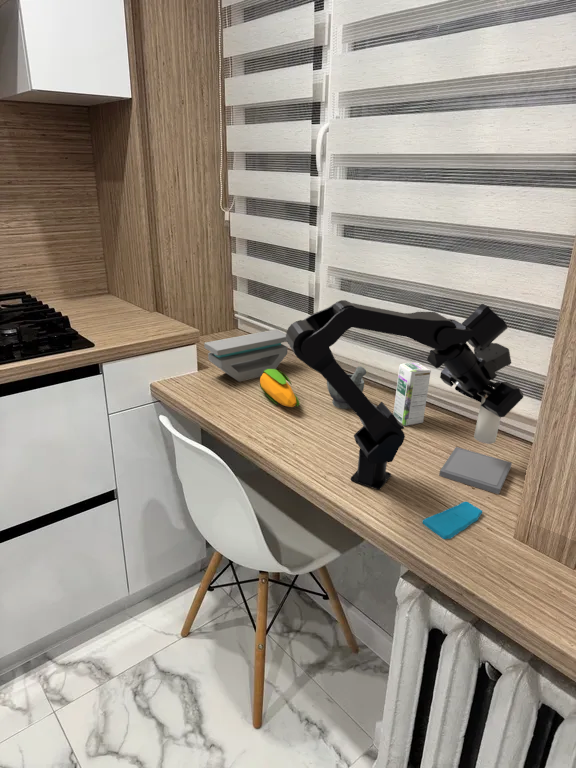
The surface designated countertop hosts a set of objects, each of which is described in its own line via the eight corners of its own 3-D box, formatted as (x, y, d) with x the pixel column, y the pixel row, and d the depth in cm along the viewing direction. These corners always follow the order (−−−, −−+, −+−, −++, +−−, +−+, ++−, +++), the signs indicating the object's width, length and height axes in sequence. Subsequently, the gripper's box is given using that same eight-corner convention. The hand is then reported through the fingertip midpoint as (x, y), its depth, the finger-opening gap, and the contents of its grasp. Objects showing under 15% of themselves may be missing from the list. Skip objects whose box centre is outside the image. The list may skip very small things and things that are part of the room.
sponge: (492, 517, 97) (468, 498, 101) (445, 538, 91) (421, 517, 96) (489, 523, 98) (466, 504, 102) (443, 545, 92) (420, 523, 96)
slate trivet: (498, 494, 105) (499, 489, 104) (439, 475, 111) (440, 470, 110) (510, 467, 114) (511, 462, 114) (455, 451, 120) (456, 446, 120)
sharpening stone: (275, 361, 170) (276, 329, 165) (289, 369, 164) (290, 335, 160) (205, 377, 156) (204, 342, 152) (218, 386, 150) (217, 350, 146)
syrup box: (391, 416, 136) (397, 363, 130) (411, 413, 138) (418, 361, 132) (404, 426, 131) (410, 372, 125) (424, 423, 133) (432, 369, 127)
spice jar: (492, 445, 111) (502, 400, 107) (471, 439, 113) (480, 394, 109) (498, 437, 114) (508, 393, 110) (477, 431, 116) (486, 388, 112)
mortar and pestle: (318, 402, 142) (320, 360, 138) (342, 393, 148) (345, 353, 143) (348, 417, 135) (352, 373, 130) (373, 407, 140) (377, 365, 136)
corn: (278, 360, 149) (308, 386, 133) (279, 384, 153) (309, 413, 136) (253, 365, 147) (281, 392, 130) (255, 389, 150) (282, 419, 133)
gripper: (526, 349, 95) (558, 398, 103) (461, 320, 111) (493, 364, 119) (483, 393, 95) (518, 439, 103) (423, 358, 111) (458, 400, 119)
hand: (496, 408), depth 111 cm, fingers closed on spice jar, 4 cm apart
